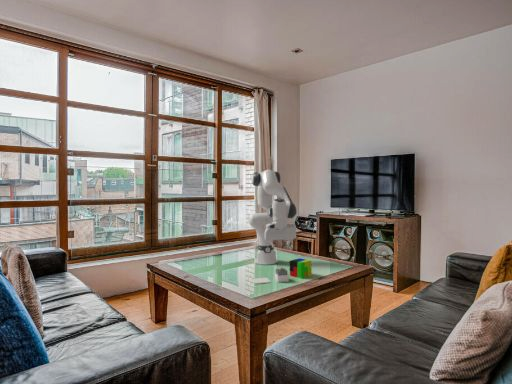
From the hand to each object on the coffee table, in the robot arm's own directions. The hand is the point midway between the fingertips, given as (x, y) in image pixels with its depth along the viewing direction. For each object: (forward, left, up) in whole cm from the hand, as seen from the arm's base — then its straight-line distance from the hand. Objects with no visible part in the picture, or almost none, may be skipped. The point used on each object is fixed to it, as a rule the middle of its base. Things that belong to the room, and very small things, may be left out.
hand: (280, 246), depth 209 cm
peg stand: (0, 0, -21) cm, 21 cm away
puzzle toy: (-7, +15, -22) cm, 27 cm away
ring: (0, 0, -17) cm, 17 cm away
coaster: (-2, -13, -21) cm, 25 cm away
